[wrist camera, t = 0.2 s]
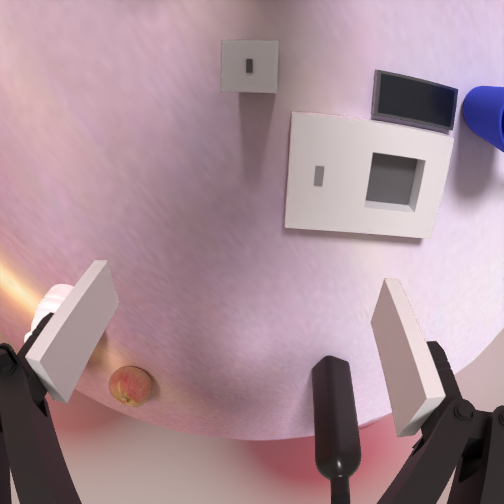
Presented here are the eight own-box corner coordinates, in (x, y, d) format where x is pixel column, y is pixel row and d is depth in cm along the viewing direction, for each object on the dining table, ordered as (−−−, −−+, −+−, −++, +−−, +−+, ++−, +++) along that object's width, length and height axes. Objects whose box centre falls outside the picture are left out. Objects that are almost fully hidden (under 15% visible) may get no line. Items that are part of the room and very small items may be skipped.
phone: (375, 69, 31) (377, 69, 30) (454, 88, 31) (458, 89, 30) (371, 113, 34) (373, 114, 33) (449, 128, 33) (453, 130, 33)
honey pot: (64, 332, 59) (26, 396, 44) (38, 283, 53) (-12, 347, 38) (112, 336, 58) (76, 410, 43) (88, 283, 51) (37, 359, 36)
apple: (112, 356, 61) (98, 385, 55) (149, 361, 61) (138, 392, 54) (125, 381, 66) (114, 409, 59) (160, 386, 65) (151, 415, 58)
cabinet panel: (291, 111, 35) (292, 113, 33) (445, 133, 34) (454, 138, 32) (284, 219, 42) (284, 228, 40) (424, 230, 41) (431, 239, 39)
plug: (238, 49, 32) (221, 39, 22) (279, 50, 31) (278, 40, 22) (237, 86, 34) (220, 92, 24) (277, 87, 34) (277, 93, 24)
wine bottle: (333, 378, 59) (343, 524, 33) (309, 370, 58) (312, 524, 32) (351, 361, 56) (370, 516, 30) (327, 352, 55) (338, 516, 29)
